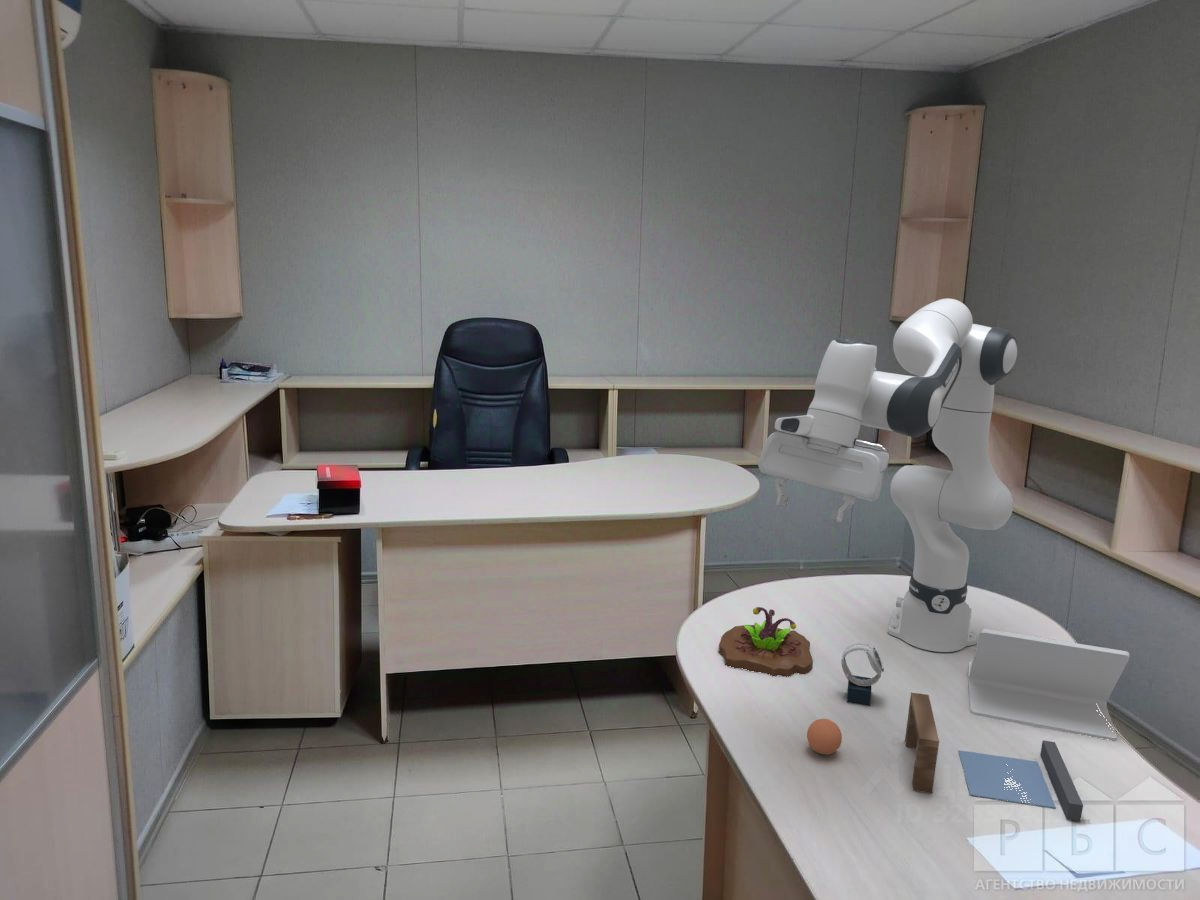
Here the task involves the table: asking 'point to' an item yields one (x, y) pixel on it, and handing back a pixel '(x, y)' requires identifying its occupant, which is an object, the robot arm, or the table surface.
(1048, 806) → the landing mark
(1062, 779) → the stopper
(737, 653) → the plant
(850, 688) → the watch
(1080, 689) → the tablet stand
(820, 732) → the ball
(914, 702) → the bridge
